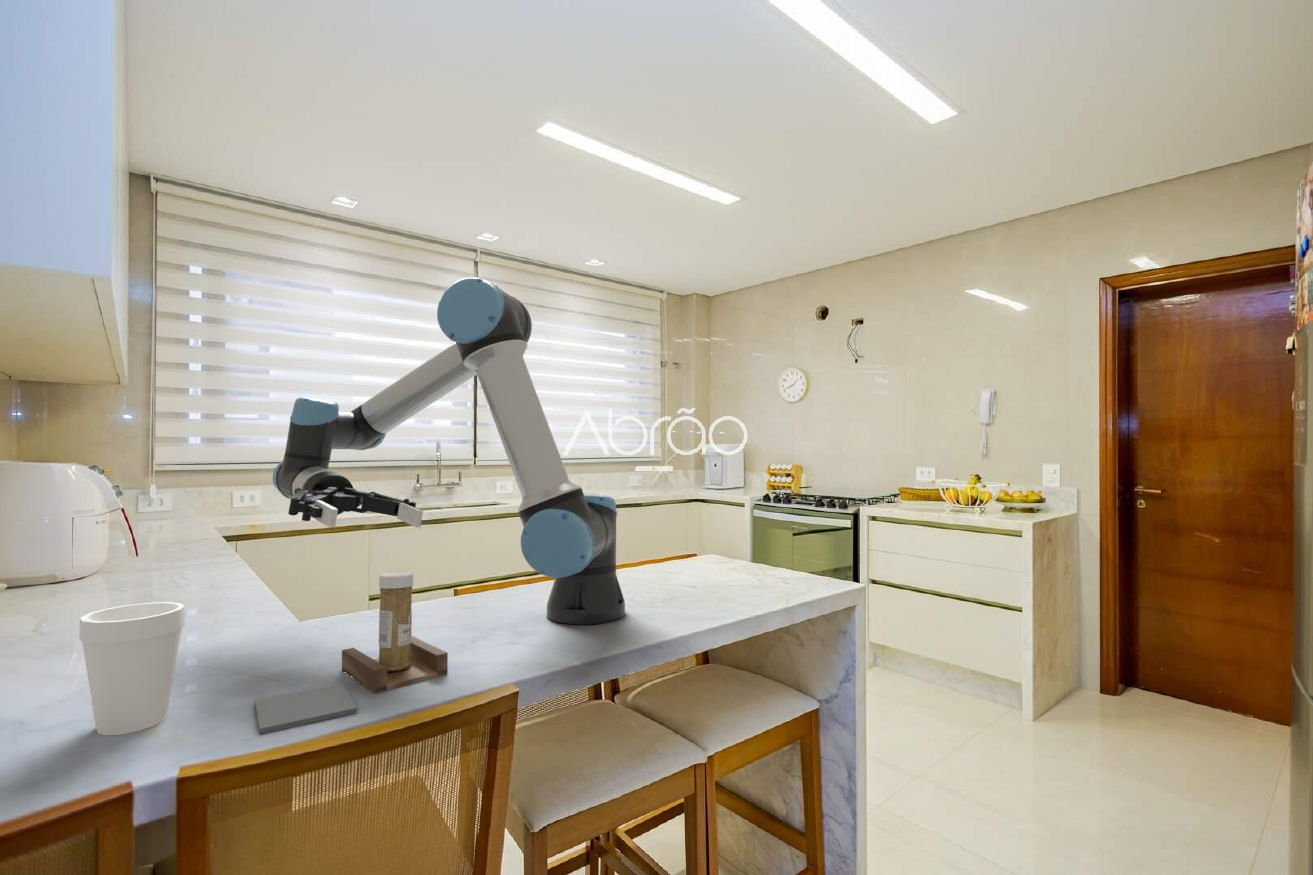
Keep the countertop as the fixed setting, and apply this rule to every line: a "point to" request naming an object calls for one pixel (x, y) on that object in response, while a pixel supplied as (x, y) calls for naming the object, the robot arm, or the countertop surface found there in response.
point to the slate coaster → (303, 707)
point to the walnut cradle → (377, 679)
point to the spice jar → (395, 620)
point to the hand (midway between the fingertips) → (379, 518)
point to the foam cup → (131, 663)
